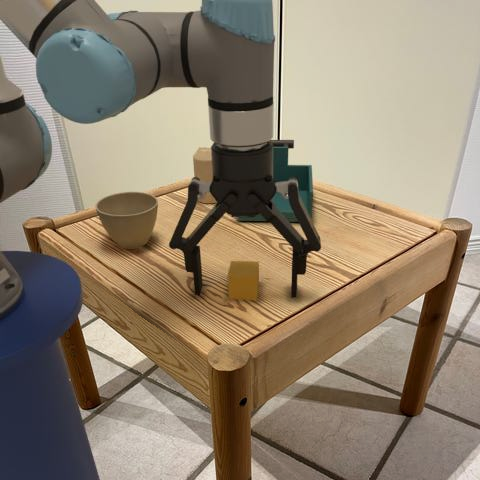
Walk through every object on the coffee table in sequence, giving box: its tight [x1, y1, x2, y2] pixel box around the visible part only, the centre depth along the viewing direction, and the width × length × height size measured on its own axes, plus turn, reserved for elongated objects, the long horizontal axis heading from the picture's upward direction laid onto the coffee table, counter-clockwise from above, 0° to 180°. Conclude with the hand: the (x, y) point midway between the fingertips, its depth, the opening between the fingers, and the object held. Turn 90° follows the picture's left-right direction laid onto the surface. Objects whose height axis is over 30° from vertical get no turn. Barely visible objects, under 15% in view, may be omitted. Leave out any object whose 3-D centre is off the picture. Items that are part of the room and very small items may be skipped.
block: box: [227, 260, 260, 301], centre depth 73 cm, size 4×4×4 cm
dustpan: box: [237, 139, 314, 223], centre depth 97 cm, size 18×13×10 cm
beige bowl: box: [95, 191, 159, 250], centre depth 85 cm, size 10×10×7 cm
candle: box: [192, 147, 217, 204], centre depth 100 cm, size 6×6×10 cm
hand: (246, 291), depth 74 cm, fingers open, 13 cm apart
